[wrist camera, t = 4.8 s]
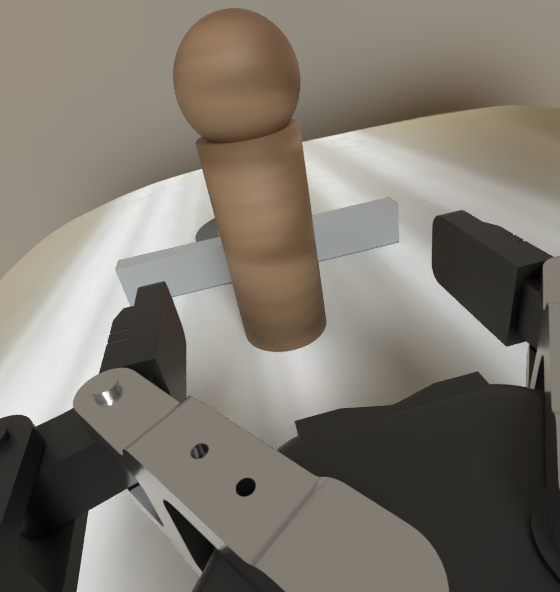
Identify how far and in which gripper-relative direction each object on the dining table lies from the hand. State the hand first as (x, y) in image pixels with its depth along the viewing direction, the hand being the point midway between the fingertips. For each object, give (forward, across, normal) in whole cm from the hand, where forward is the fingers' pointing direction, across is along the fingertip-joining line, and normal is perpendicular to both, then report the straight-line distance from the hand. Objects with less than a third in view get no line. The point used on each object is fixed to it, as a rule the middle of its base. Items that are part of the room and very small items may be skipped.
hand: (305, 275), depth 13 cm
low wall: (+17, 0, +8) cm, 19 cm away
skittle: (+10, 0, +8) cm, 13 cm away
